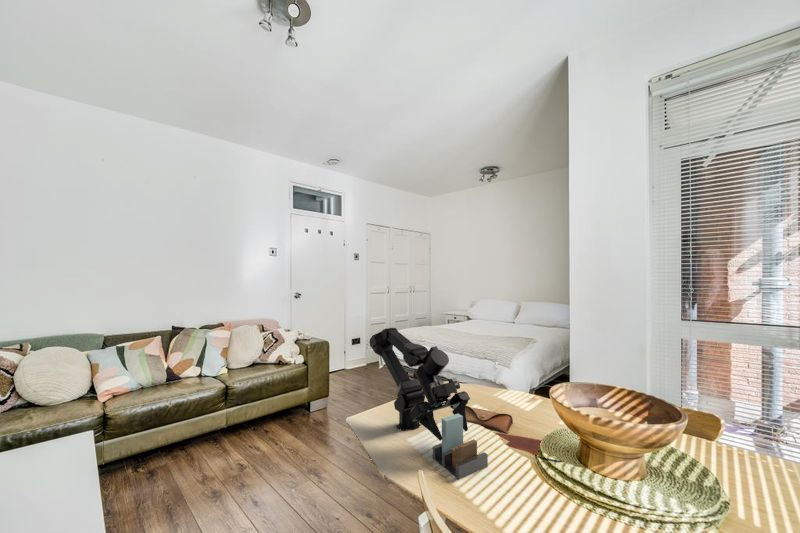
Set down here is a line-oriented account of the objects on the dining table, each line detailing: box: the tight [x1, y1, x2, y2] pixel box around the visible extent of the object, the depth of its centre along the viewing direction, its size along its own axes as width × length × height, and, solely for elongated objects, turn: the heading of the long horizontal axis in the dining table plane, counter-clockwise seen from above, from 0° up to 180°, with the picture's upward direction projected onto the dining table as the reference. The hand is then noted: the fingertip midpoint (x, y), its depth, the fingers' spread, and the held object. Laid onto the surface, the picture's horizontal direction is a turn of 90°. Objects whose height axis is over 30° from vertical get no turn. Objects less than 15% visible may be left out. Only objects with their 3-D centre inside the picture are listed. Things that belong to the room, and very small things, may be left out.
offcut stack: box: [452, 439, 478, 469], centre depth 85 cm, size 4×6×6 cm, turn 121°
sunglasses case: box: [465, 405, 514, 434], centre depth 111 cm, size 18×7×7 cm
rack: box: [432, 442, 489, 480], centre depth 87 cm, size 11×10×4 cm
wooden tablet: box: [492, 431, 542, 457], centre depth 97 cm, size 27×10×2 cm, turn 65°
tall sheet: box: [441, 414, 464, 453], centre depth 89 cm, size 2×6×11 cm, turn 121°
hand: (454, 435), depth 89 cm, fingers open, 9 cm apart
